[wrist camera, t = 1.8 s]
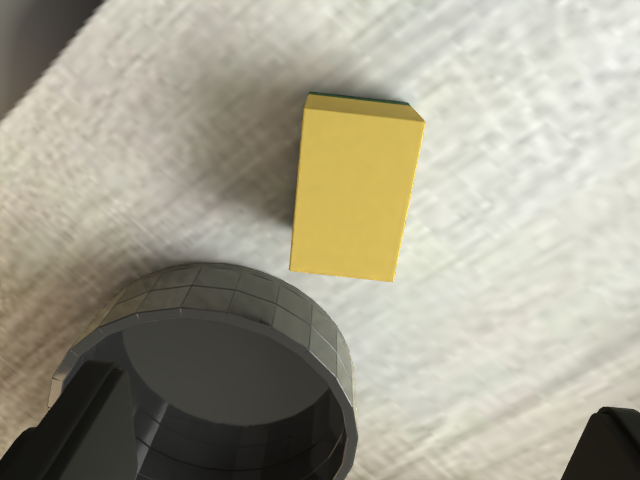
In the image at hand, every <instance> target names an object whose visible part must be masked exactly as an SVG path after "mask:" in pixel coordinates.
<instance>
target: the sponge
mask: <svg viewBox="0 0 640 480" xmlns="http://www.w3.org/2000/svg"><path fill="white" fill-rule="evenodd" d="M425 124H426V122H425V121H424V119H423V118H422V117H421V116H420V115H419V114H418V113H417V112H416V111H415V110H414V109H413V108H412V107H411V106H410V104H409V103H404V102H395V101H387V100H378V99H369V98H360V97H352V96H343V95H334V94H326V93H317V92H309V94H308V97H307V100H306V103H305V106H304V108H303V118H302V129H301V141H300V152H299V163H298V175H297V186H296V197H295V208H294V220H293V231H292V242H291V254H290V265H289V270H290V271H294V272H303V273H313V274H322V275H332V276H341V277H350V278H360V279H369V280H378V281H388V282H393V281H394V276H395V271H396V266H397V262H398V257H399V252H400V247H401V242H402V237H403V232H404V227H405V222H406V217H407V212H408V207H409V202H410V197H411V193H412V188H413V183H414V178H415V173H416V168H417V163H418V158H419V153H420V148H421V143H422V138H423V133H424V129H425Z"/></svg>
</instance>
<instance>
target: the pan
mask: <svg viewBox="0 0 640 480" xmlns="http://www.w3.org/2000/svg"><path fill="white" fill-rule="evenodd" d="M88 360H96V361H107V362H117V363H119V364H120V367H121V371H128V373H129V379H130V389H131V399H132V410H133V420H134V430H135V441H136V451H137V461H138V468H137V475H136V479H135V480H344V479H345V477H346V476H347V474H348V472H349V471H350V469H351V468H352V466H353V462H354V457H355V452H356V447H357V442H358V423H357V406H356V389H355V380H354V374H353V364H352V360H351V356H350V352H349V349H348V347H347V344H346V342H345V340H344V337H343V336H342V334H341V333H340V331H339V329H338V328H337V326H336V324H335V323H334V322H333V321H332V319H331V318H330V317H329V316H328V315H327V313H326V312H325V311H324V310H323V309H322V308H321V307H320V306H319V305H318V304H316V303H315V302H314V301H313V300H312V299H311V298H309V297H308V296H307V295H305V294H304V293H303V292H301V291H300V290H298V289H297V288H295V287H293V286H291V285H290V284H288V283H286V282H284V281H282V280H281V279H278V278H276V277H273V276H271V275H268V274H266V273H263V272H260V271H257V270H253V269H250V268H246V267H242V266H235V265H229V264H220V263H195V264H184V265H179V266H174V267H168V268H165V269H162V270H159V271H156V272H153V273H150V274H148V275H146V276H144V277H142V278H140V279H138V280H136V281H134V282H133V283H131V284H130V285H128V286H127V287H125V288H124V289H123V290H121V291H120V292H119V293H118V294H117V295H116V296H115V297H114V298H113V299H112V300H111V301H110V302H109V303H108V304H106V305H105V306H104V308H103V309H102V310H101V311H100V312H99V314H98V315H97V316H96V317H95V319H94V320H93V321H92V322H91V323H90V325H89V326H88V327H87V328H86V330H85V331H84V332H83V333H82V335H81V336H80V337H79V338H78V340H77V341H76V342H75V343H74V344H73V346H72V347H71V348H70V349H69V351H68V352H67V354H66V356H65V357H64V359H63V361H62V362H61V364H60V365H59V367H58V369H57V370H56V372H55V374H54V375H53V378H52V383H51V389H50V395H49V401H48V411H49V410H50V408H51V407H52V406H53V404H54V403H55V402H56V400H57V399H58V398H59V396H60V395H61V393H62V392H63V391H64V389H65V388H66V387H67V385H68V384H69V382H70V381H71V380H72V378H73V377H74V376H75V374H76V373H77V372H78V370H79V369H80V367H81V366H82V365H83V364H84V363H85V362H86V361H88Z"/></svg>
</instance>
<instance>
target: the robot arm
mask: <svg viewBox="0 0 640 480" xmlns="http://www.w3.org/2000/svg"><path fill="white" fill-rule="evenodd" d="M137 468H138V461H137V451H136V441H135V430H134V420H133V410H132V399H131V389H130V379H129V373H128V371H121V367H120V364H119V363H117V362H107V361H96V360H88V361H86V362H85V363H84V364H83V365H82V366H81V367H80V369H79V370H78V372H77V373H76V374H75V376H74V377H73V378H72V380H71V381H70V382H69V384H68V385H67V387H66V388H65V389H64V391H63V392H62V393H61V395H60V396H59V398H58V399H57V400H56V402H55V403H54V404H53V406H52V407H51V408H50V410H49V411H48V413H47V414H46V415H45V417H44V418H43V419H42V421H41V422H40V424H39V425H38V426H37V427H30V428H28V429H27V430H25V431H23V432H22V433H21V435H20V436H19V437H18V438H17V439H16V440H15V441H14V443H13V444H12V445H11V447H10V448H9V449H8V451H7V452H6V453H5V455H4V456H3V457H2V459H1V460H0V480H135V479H136V475H137ZM561 480H640V413H639V412H638V411H636V410H634V409H627V408H615V407H602V408H600V409H599V411H598V412H597V413H594V414H593V415H591V417H590V419H589V421H588V423H587V425H586V427H585V429H584V431H583V433H582V436H581V438H580V440H579V442H578V444H577V446H576V448H575V450H574V453H573V455H572V457H571V459H570V461H569V463H568V465H567V467H566V470H565V472H564V474H563V476H562V478H561Z"/></svg>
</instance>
